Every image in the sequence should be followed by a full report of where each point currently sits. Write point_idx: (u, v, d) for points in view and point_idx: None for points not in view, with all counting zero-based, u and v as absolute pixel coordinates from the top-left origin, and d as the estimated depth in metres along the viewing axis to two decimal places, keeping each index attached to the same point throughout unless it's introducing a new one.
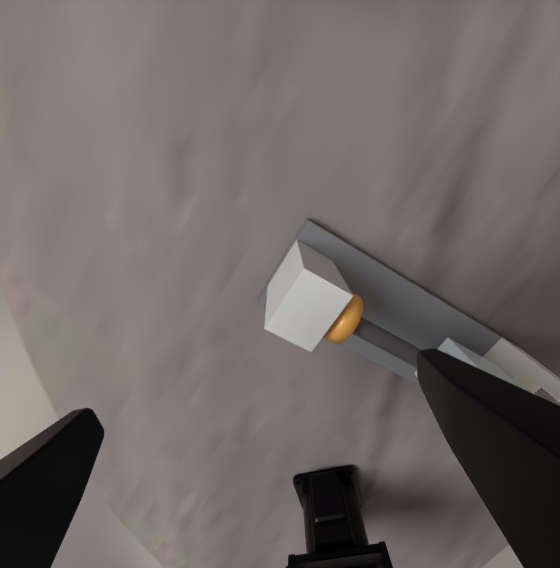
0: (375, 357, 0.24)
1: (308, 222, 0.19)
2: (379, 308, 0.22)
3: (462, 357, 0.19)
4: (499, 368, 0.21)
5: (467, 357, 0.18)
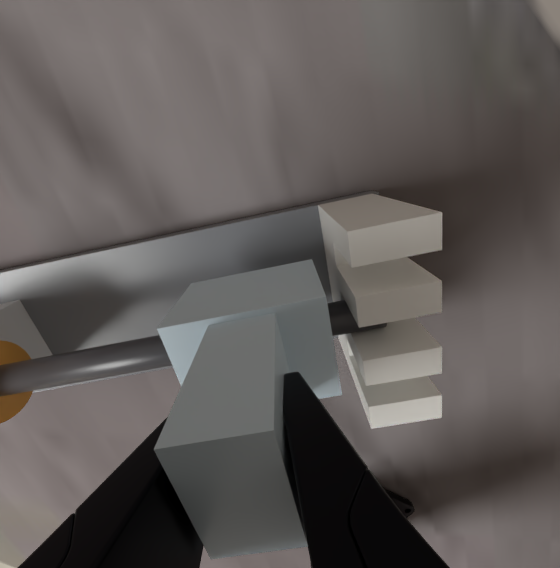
0: None
1: None
2: (129, 304, 0.15)
3: None
4: (304, 264, 0.11)
5: (175, 308, 0.10)
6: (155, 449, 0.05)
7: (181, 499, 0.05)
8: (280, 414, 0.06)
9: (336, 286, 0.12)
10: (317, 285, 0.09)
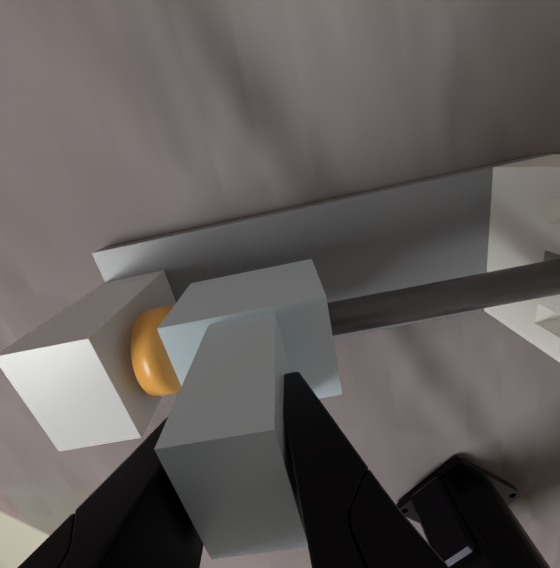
0: None
1: (94, 254, 0.14)
2: None
3: None
4: (303, 264, 0.11)
5: (174, 308, 0.10)
6: (156, 449, 0.05)
7: (182, 499, 0.05)
8: (281, 414, 0.06)
9: (526, 249, 0.11)
10: (317, 285, 0.09)
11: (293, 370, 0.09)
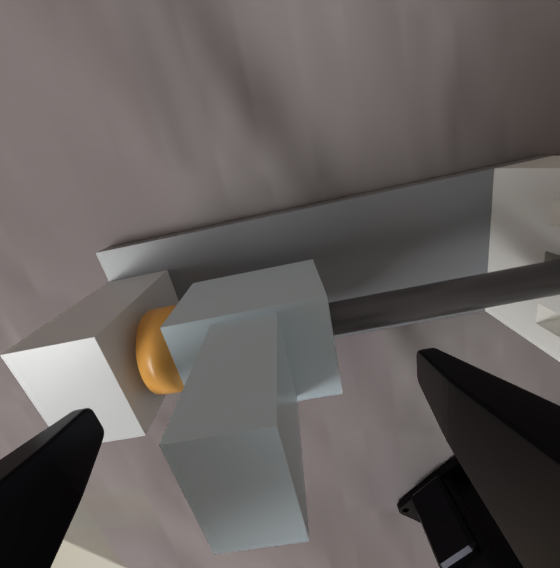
0: None
1: (98, 254, 0.14)
2: None
3: None
4: (304, 264, 0.11)
5: (177, 307, 0.10)
6: (160, 445, 0.05)
7: (185, 494, 0.05)
8: (282, 411, 0.06)
9: (527, 249, 0.11)
10: (318, 284, 0.09)
11: (294, 369, 0.09)
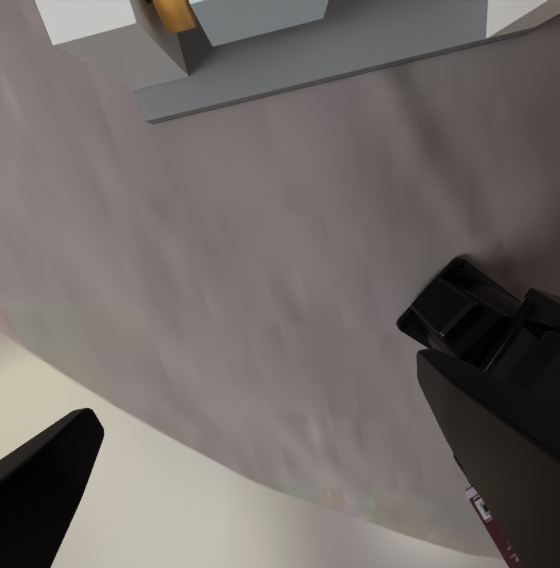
0: (337, 65, 0.15)
1: None
2: None
3: None
4: None
5: None
6: None
7: None
8: None
9: None
10: None
11: None
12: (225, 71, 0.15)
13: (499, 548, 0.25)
